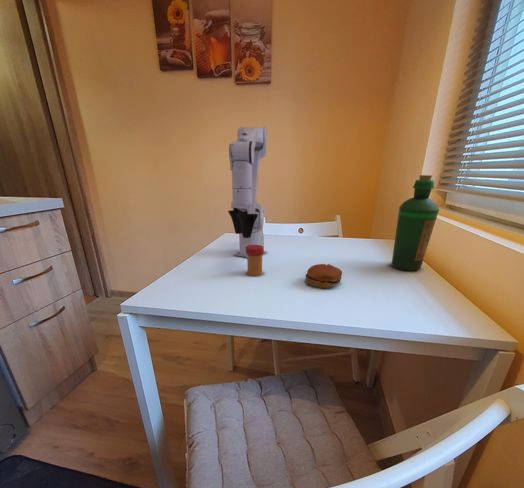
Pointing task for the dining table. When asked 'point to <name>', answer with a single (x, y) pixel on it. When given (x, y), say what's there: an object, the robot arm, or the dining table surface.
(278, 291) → the dining table surface
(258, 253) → the jar lid
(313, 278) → the burger
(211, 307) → the dining table surface
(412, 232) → the bottle
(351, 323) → the dining table surface
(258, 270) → the honey jar
